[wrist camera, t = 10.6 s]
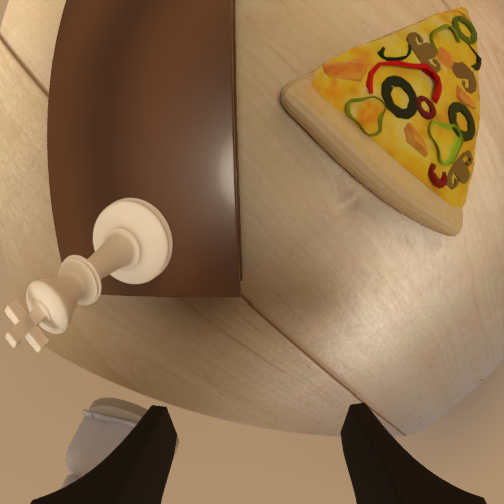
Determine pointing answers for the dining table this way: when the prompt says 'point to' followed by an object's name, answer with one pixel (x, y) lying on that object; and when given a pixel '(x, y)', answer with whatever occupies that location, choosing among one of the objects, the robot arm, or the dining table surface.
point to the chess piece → (95, 269)
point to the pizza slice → (401, 116)
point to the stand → (149, 134)
